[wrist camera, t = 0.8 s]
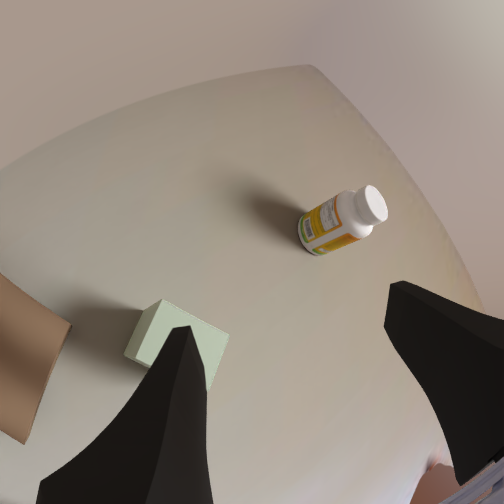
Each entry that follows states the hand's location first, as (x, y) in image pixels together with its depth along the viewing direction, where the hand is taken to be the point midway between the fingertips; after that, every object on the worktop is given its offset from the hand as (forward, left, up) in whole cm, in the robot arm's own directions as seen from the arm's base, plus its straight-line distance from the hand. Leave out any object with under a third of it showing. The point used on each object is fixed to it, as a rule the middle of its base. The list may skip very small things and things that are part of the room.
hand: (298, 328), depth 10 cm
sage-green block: (-1, 0, -15) cm, 15 cm away
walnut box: (-8, +12, -16) cm, 22 cm away
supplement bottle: (+18, -11, -16) cm, 26 cm away
